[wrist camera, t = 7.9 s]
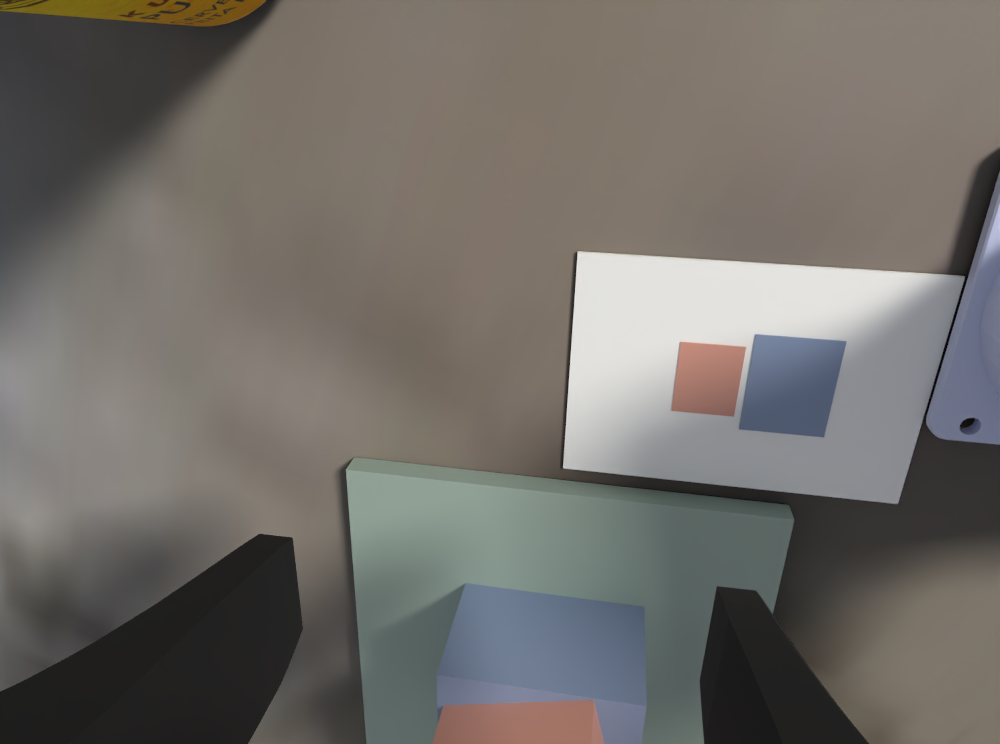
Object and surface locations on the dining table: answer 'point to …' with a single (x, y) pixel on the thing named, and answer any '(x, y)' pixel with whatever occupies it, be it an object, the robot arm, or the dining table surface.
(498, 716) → the top brick
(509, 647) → the base brick
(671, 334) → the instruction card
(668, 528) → the plate
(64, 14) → the beer can
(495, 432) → the dining table surface
